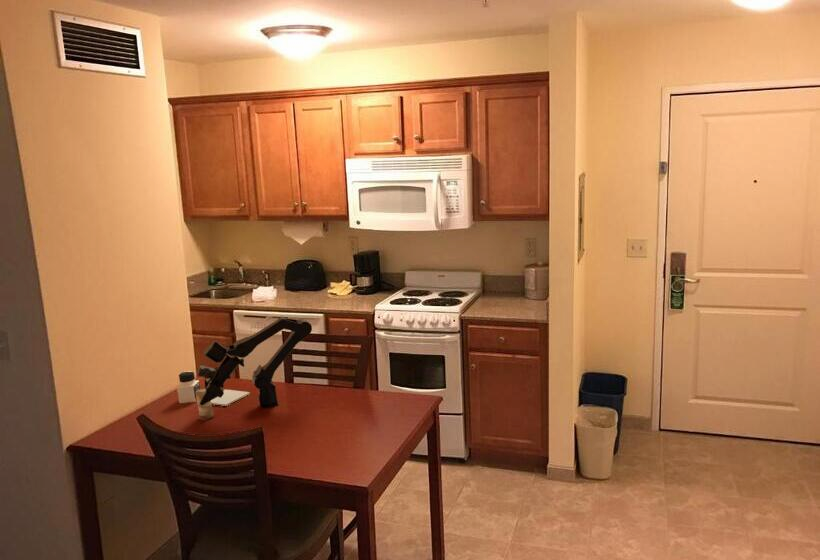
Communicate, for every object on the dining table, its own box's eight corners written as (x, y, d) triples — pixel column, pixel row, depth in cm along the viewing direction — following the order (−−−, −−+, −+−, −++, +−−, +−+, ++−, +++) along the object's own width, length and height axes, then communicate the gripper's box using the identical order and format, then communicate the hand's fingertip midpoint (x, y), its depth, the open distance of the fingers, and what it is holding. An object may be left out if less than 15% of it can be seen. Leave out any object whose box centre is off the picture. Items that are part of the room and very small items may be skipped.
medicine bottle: (196, 402, 275) (191, 374, 273) (179, 403, 275) (174, 376, 273) (201, 396, 282) (197, 369, 280) (185, 397, 282) (180, 370, 280)
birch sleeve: (213, 414, 259) (209, 387, 257) (214, 418, 254) (209, 391, 252) (199, 417, 258) (195, 390, 256) (199, 421, 253) (195, 394, 251)
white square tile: (250, 394, 278) (249, 392, 278) (226, 406, 266) (225, 404, 266) (225, 391, 285) (225, 389, 284) (201, 403, 273) (200, 401, 273)
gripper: (206, 351, 262) (181, 384, 260) (209, 364, 244) (183, 398, 243) (230, 367, 266) (205, 399, 264) (234, 380, 248) (208, 414, 247)
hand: (200, 402), depth 254 cm, fingers closed on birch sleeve, 5 cm apart
